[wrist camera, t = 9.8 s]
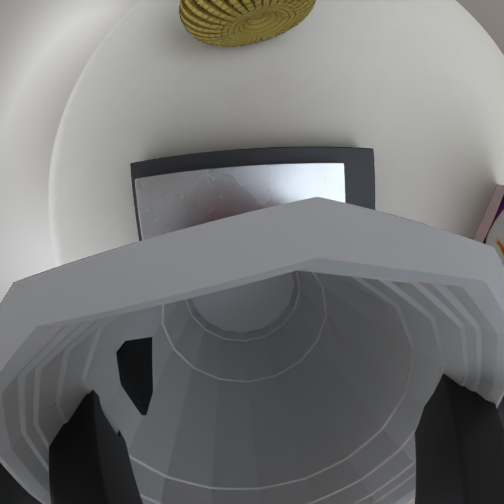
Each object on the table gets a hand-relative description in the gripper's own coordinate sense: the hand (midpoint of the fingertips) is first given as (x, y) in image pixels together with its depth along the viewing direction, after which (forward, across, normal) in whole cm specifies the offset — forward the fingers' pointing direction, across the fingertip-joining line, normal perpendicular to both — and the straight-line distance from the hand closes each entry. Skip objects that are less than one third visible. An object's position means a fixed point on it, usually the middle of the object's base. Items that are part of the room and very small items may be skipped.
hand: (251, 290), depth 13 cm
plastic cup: (+1, 0, 0) cm, 1 cm away
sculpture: (+6, +1, +16) cm, 17 cm away
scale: (+6, +1, 0) cm, 6 cm away
